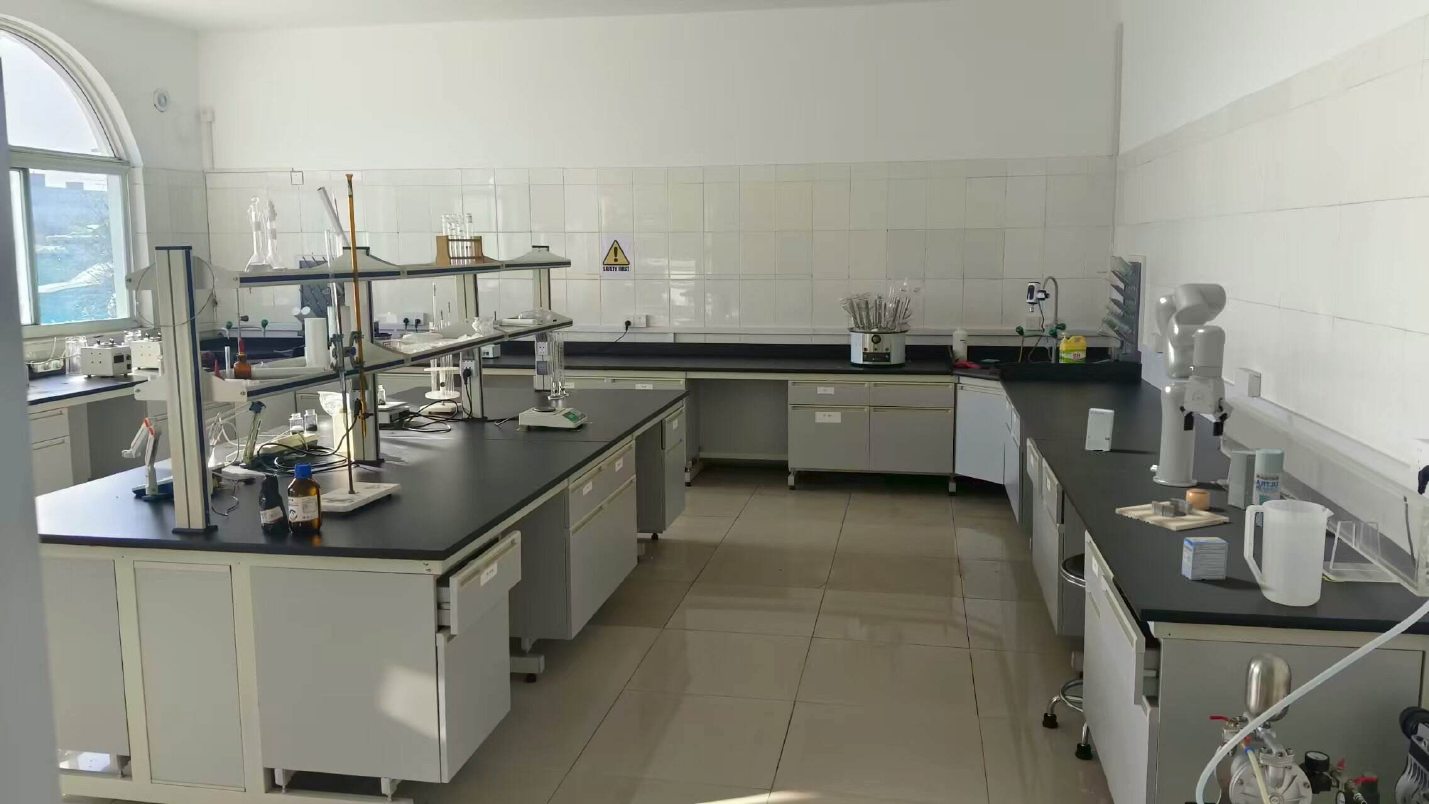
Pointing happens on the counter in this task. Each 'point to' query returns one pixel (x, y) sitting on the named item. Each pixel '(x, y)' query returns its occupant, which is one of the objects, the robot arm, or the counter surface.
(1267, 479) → the spray paint can
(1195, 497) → the tan round jar
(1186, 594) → the counter surface
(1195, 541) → the medicine box
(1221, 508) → the counter surface
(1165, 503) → the barrel mount
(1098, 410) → the skincare box
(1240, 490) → the skincare box
